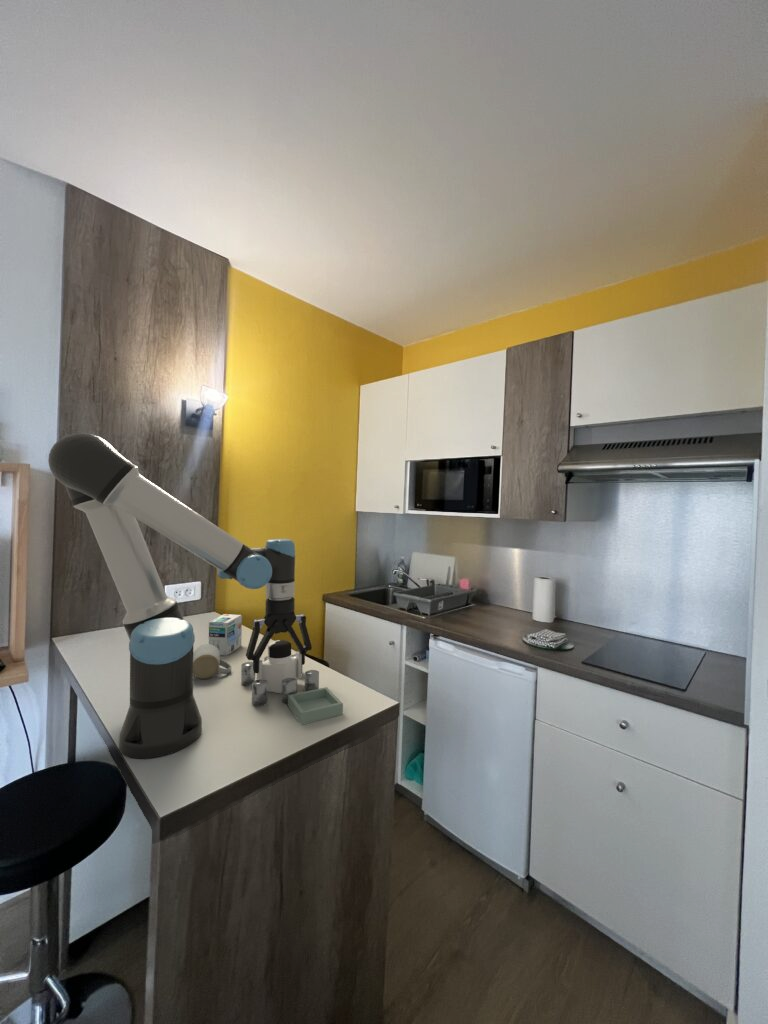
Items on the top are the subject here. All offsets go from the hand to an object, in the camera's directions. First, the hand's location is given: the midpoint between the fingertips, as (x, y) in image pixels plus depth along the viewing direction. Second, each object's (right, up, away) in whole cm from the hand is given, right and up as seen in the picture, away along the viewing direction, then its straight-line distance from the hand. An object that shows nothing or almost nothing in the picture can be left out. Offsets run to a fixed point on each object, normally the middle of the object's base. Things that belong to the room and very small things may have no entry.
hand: (279, 680), depth 112 cm
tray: (+12, -2, -12) cm, 17 cm away
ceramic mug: (-22, -2, +8) cm, 23 cm away
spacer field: (0, -2, 0) cm, 2 cm away
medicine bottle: (0, -2, 0) cm, 2 cm away
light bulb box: (-25, -1, +28) cm, 38 cm away
